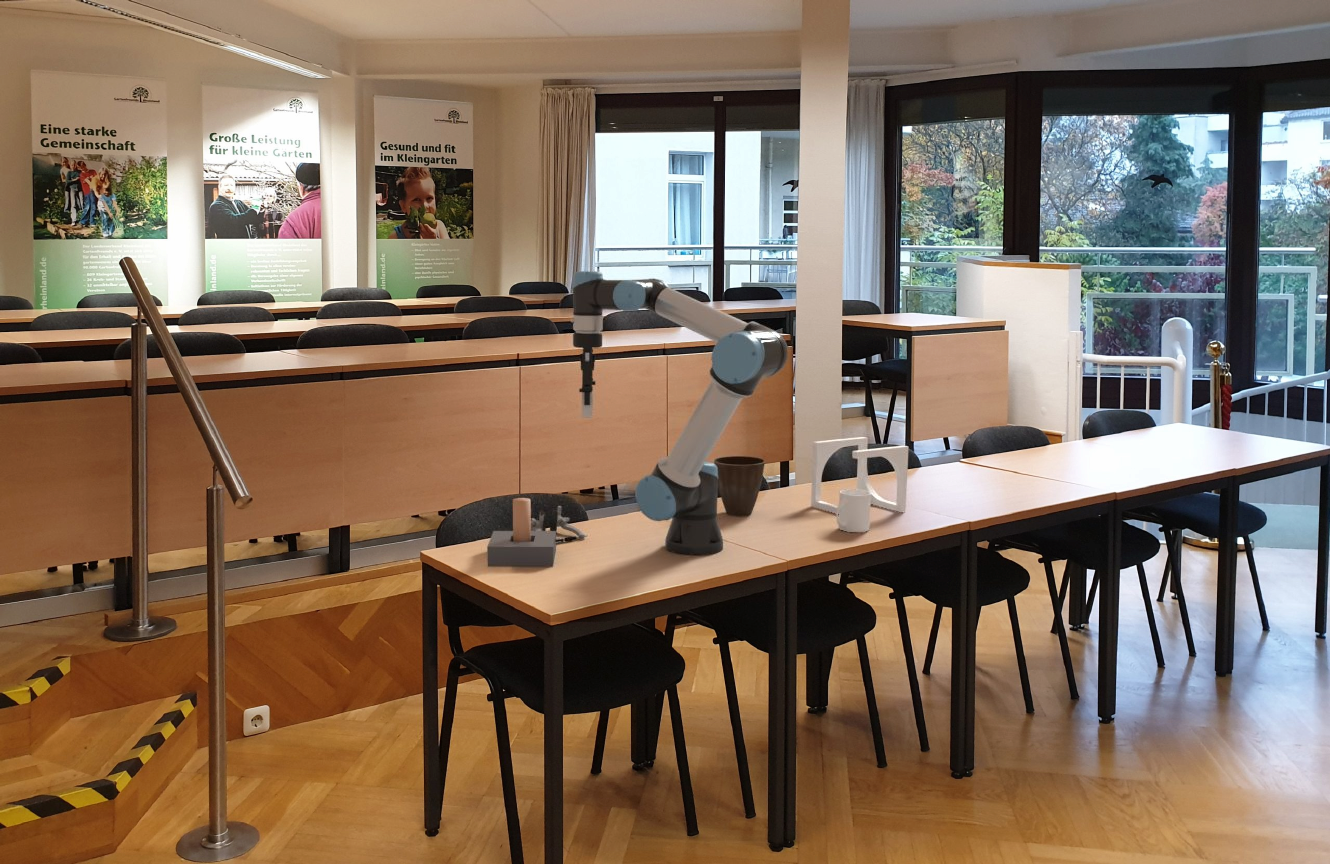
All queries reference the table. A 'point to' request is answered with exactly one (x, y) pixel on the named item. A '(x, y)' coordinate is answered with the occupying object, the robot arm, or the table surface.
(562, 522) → the bike brake
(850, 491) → the mug
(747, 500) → the plant pot
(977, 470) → the table surface
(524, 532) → the peg
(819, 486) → the white piece
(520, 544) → the socket block
